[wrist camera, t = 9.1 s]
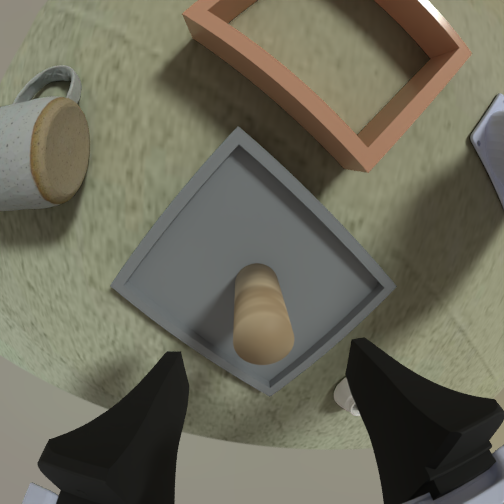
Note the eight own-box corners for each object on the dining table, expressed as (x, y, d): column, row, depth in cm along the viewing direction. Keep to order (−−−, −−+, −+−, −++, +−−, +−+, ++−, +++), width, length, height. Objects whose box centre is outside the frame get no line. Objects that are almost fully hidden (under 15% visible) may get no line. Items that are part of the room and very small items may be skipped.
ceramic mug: (96, 198, 18) (32, 220, 11) (21, 202, 18) (-42, 222, 11) (106, 60, 15) (50, 25, 8) (28, 81, 15) (-32, 67, 8)
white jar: (384, 384, 26) (369, 358, 24) (394, 403, 23) (381, 378, 21) (343, 408, 26) (324, 385, 25) (351, 428, 24) (331, 407, 22)
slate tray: (388, 278, 21) (396, 286, 20) (268, 385, 24) (269, 396, 23) (238, 128, 17) (238, 126, 16) (117, 277, 20) (110, 285, 19)
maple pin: (286, 281, 20) (306, 338, 14) (257, 309, 21) (264, 373, 14) (255, 254, 20) (262, 304, 13) (226, 284, 20) (220, 344, 14)
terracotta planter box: (442, 62, 16) (472, 53, 12) (344, 168, 18) (368, 172, 15) (318, -50, 12) (330, -76, 8) (192, 38, 15) (181, 13, 11)
